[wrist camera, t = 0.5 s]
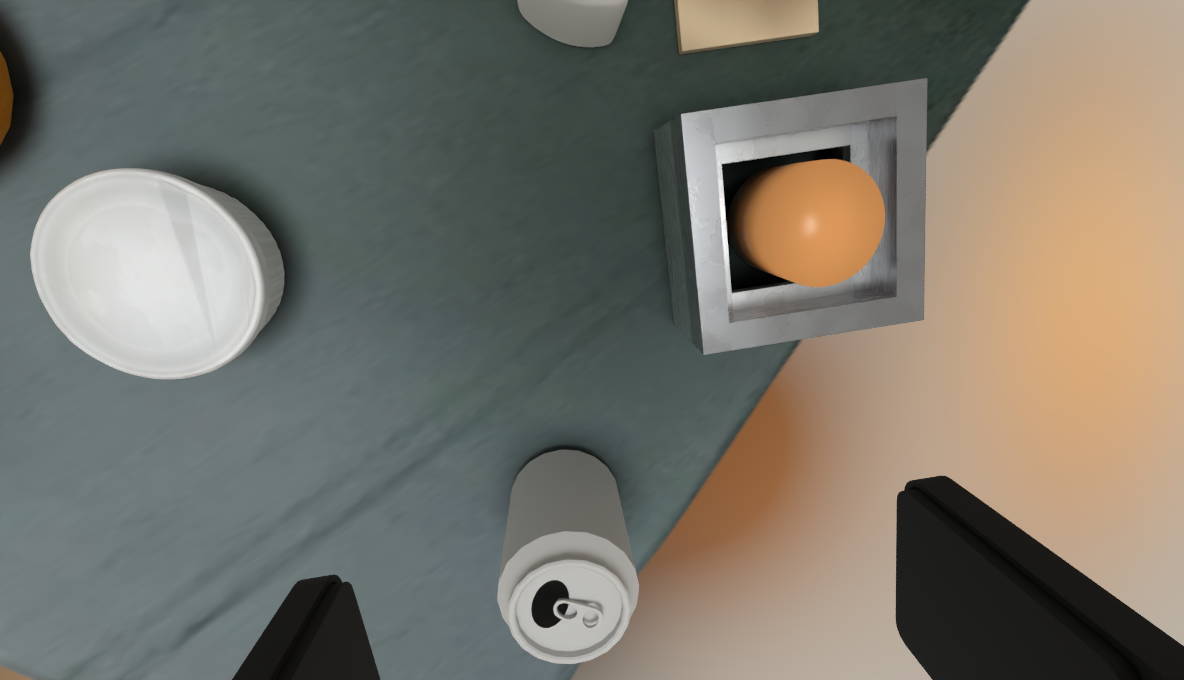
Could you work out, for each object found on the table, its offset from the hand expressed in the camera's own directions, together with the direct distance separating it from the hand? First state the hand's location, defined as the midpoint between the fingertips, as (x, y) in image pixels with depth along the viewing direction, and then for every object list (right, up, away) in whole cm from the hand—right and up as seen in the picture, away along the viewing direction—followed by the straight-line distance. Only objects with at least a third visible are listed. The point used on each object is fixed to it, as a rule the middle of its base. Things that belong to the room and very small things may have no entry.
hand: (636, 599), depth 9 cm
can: (-3, -6, +30) cm, 31 cm away
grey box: (+10, +12, +26) cm, 30 cm away
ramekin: (-24, +9, +25) cm, 36 cm away
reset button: (+10, +11, +22) cm, 27 cm away
